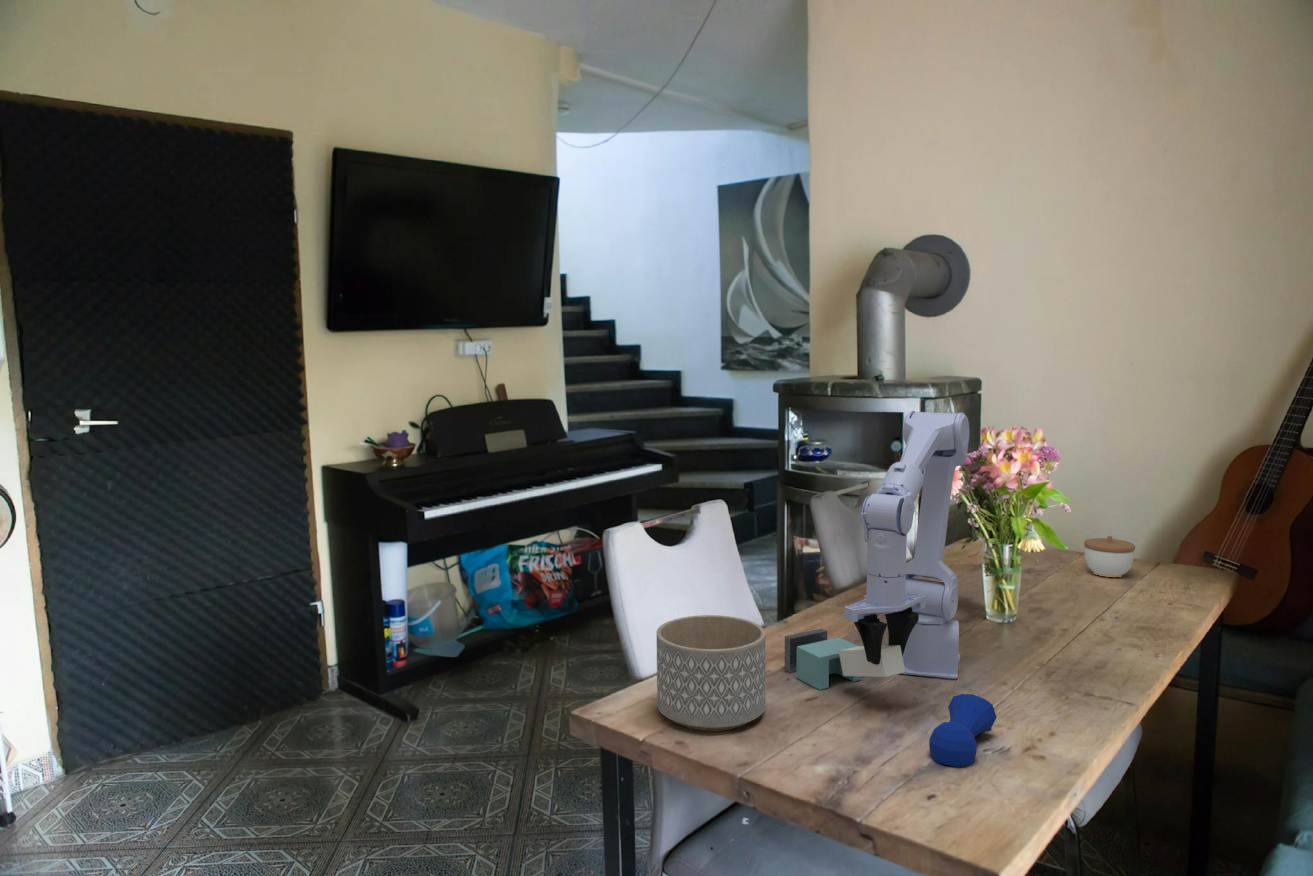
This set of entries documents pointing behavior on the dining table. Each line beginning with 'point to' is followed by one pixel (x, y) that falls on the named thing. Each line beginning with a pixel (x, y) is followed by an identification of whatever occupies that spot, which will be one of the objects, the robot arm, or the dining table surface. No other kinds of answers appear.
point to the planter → (711, 671)
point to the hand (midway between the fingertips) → (884, 659)
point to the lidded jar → (1109, 555)
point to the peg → (859, 666)
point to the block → (821, 662)
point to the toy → (961, 730)
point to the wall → (799, 640)
